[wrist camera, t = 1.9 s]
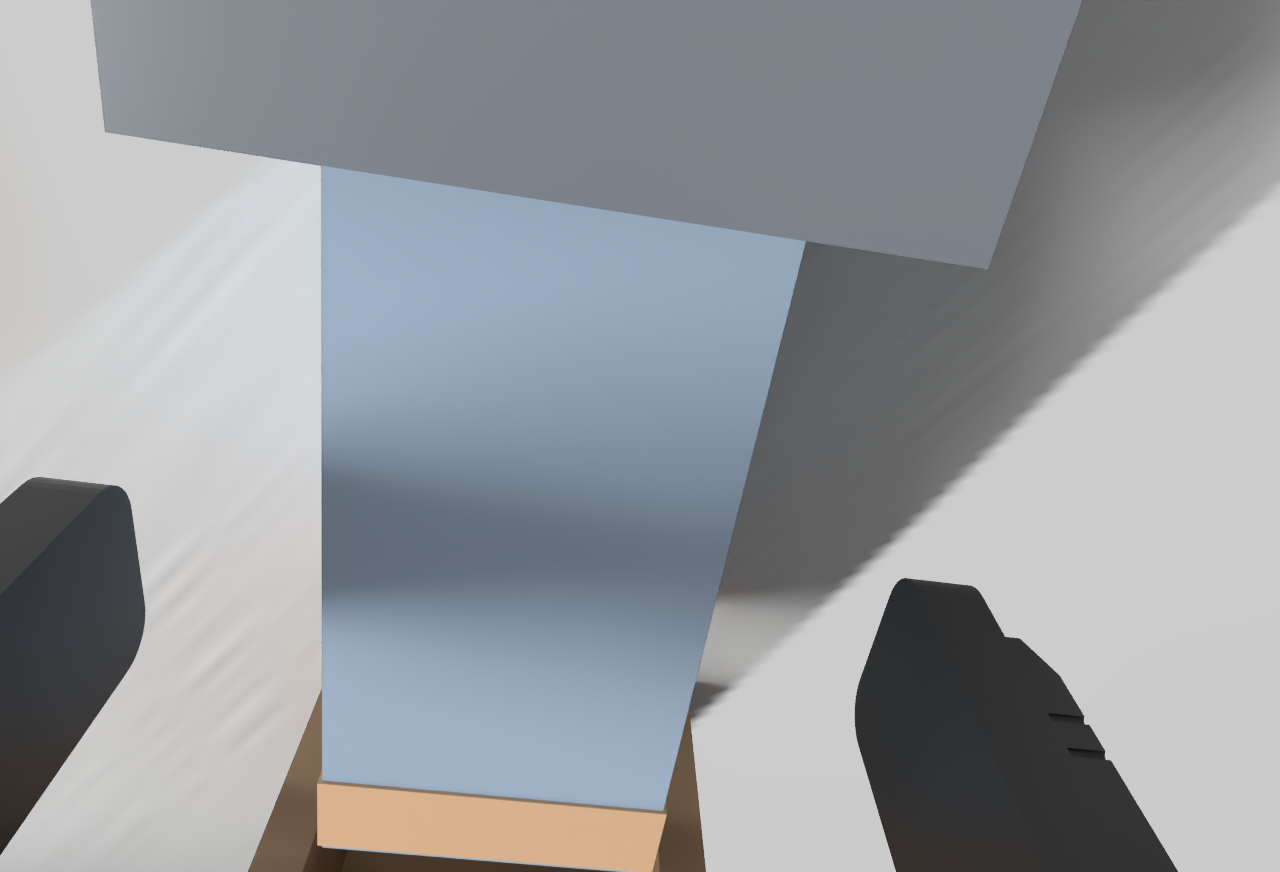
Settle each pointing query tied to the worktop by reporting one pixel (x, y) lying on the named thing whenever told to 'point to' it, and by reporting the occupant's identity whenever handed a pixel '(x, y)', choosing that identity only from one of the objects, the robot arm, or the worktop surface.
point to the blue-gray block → (622, 103)
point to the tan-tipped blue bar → (525, 510)
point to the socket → (300, 868)
